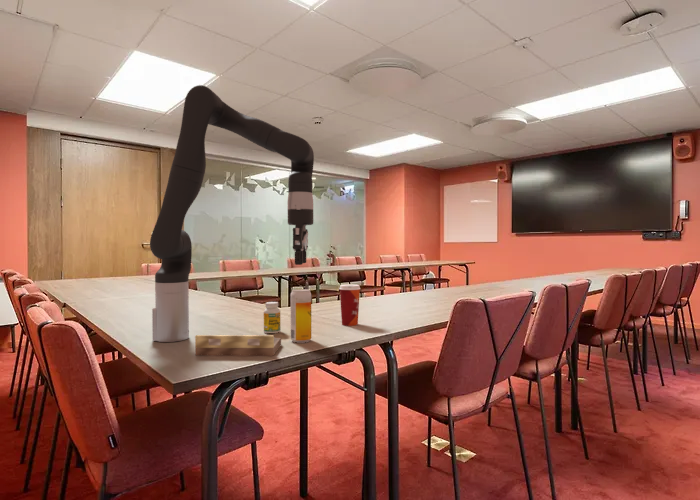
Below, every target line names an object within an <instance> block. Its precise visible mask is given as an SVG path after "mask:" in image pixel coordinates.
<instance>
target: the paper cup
mask: <svg viewBox="0 0 700 500" xmlns="http://www.w3.org/2000/svg"><path fill="white" fill-rule="evenodd" d="M361 289H362V288H361V287H360V284H356V283H353V284H352V283H351V284H350V283H349V284H348V283H346V284H340V285H339V288H338V290H339V295H340V298H339V299H340V300H339V301H340V312H341V313H340V315H341V316H340V317H341V325H342V326H344V327H354V326H358V324H359V311H360V310H359V309H360V308H359V307H360V294H361V293H360V292H361Z"/></svg>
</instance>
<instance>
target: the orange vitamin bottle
mask: <svg viewBox="0 0 700 500" xmlns="http://www.w3.org/2000/svg"><path fill="white" fill-rule="evenodd" d="M311 339H312V293H311V289H308V288H307V289H305V288H302V289H301V288H299V289H298V288H297V289H291V292H290V340H291V341H292V342H293V343H295V342H297V343H296V344H305V342H306V343H309V342H310V341H311Z"/></svg>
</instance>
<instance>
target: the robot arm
mask: <svg viewBox="0 0 700 500" xmlns="http://www.w3.org/2000/svg"><path fill="white" fill-rule="evenodd" d="M184 98H185V99H184V104H183V111H182V118H181V126H180V131H179V136H178V140H177V143H176V148H175V152H174V156H173V160H172V163H171V166H170V171H169V175H168V180H167V184H166V187H165V192H164V195H163V199H162V204H161V207H160V211H159V214H158V217H157V219H156V222H155V225H154V227H153V230H152V233H151V234H150V240H149V241H150V242H149V247H150V248H149V249H150V251H151V253H152V254H153V256H155V257H156V258H157V259H159V260H161V265H160V267H159V269H158V270H157V271H156V272H155V274H154V282H155V283H154V284H155V285H154V292H155V293H154V295H155V297H154V298H155V299H154V300H155V304H154V305H155V306H154V307H152V309H151V310H152V311H151V312H152V314H151V315H152V316H151V317H152V320H151V321H152V326H151V327H152V341H153V342H154V341H155V342H160V343H172V342H180V341H185V340H188V339H190V318H189V317H190V306H189V305H190V303H189V300H190V299H189V298H190V297H189V295H190V294H189V287H190V285H189V279H190V278H189V277H190V273H191V271H192V255H193V254H192V250H193V248H192V247H193V246H192V245H193V244H192V240H191V239H192V238H191V237H190V234H188V233H187V232H186V231H185V230H183V226H184V221H185V218H186V215H187V214H188V211H189V210H190V207H191V206H192V204H194V202H195V200H196V198H197V197H198V195H199V194H200V191H201V189H202V186H203V181H204V178H205V174H206V166H207V160H206V144H205V142H206V141H205V140H206V135H207V131H208V130H207V129H208V127H209V126H213V127H217V128H221V129H224V130H226V131H229V132H231V133H234V134H236V135H238V136H240V137H242V138H244V139H246V140H248V141H250V142H252V143H254V144H255V145H256V146H259V147H261V148H263V149H265V150H267V151H270V152H272V153H276V154H279V155H281V156H283V157H285V158H286V159H288V160H290V174H289V175H288V181H287V183H288V186H287V187H288V188H287V192H288V196H287V225H289V226H294V227H293V228H292V250H293V251H294V265H295V266H302V265H303V264H306V263H307V251H308V248H309V245H308V244H309V239H308V238H309V230H308V229H307V226H313V225H314V196H313V173H314V164H315V163H314V160H315V158H314V157H315V155H314V153H315V152H314V150H313V148H312V146H311V144H310V143H309V142H308V140H306V139H304V138H302V137H300V136H299V135H296V134H294V133H290V132H287V131H284V130H283V129H280V128H279V127H277V126H275V125H272V124H271V123H268V122H266V121H265V120H262V119H259V118H257V117H253V116H250V115H247V114H244V113H242V112H240V111H238V110H236V109H234V107H233V108H232V107H231V106H230V105H228V104H227V103H226V102H224V101H223V100H222V99H221V97H219V96H218V95H217V94H216V93H215V92H214V91H213V90H212V89H211V88H209V87H208V86H206V85H203V84H199V85H195V86H193V87H192V88H190V89H189V90H188V91H187V93H186V96H185V97H184Z"/></svg>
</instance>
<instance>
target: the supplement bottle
mask: <svg viewBox="0 0 700 500" xmlns="http://www.w3.org/2000/svg"><path fill="white" fill-rule="evenodd" d="M278 307H279V301H268V302H265V309H264V310H263V332H264V334H267V333H275V334H279V333H280V332H281V309H280V308H278ZM278 332H279V333H278Z"/></svg>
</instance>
